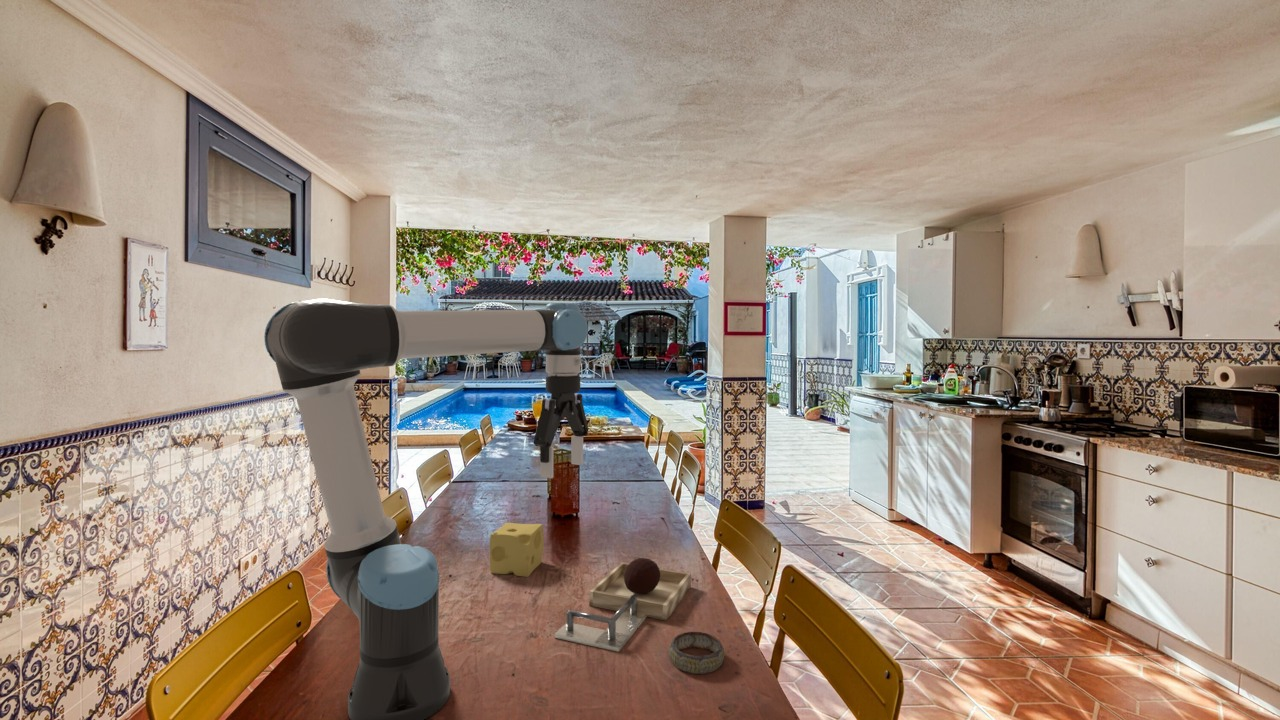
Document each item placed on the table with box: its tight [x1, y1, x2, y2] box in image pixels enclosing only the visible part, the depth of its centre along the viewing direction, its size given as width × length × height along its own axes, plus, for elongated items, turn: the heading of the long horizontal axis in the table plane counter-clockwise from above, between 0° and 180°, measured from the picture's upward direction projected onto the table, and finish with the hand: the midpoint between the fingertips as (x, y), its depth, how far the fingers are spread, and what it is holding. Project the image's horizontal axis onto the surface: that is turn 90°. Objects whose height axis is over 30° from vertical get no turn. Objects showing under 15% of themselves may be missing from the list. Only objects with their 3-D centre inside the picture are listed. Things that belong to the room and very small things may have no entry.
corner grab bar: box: [554, 595, 648, 653], centre depth 120 cm, size 16×14×5 cm
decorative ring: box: [668, 631, 726, 675], centre depth 107 cm, size 10×3×10 cm
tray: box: [588, 561, 692, 621], centre depth 133 cm, size 18×18×3 cm
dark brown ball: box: [624, 557, 660, 594], centre depth 133 cm, size 8×9×8 cm
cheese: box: [489, 522, 545, 578], centre depth 149 cm, size 10×11×10 cm
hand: (562, 470), depth 130 cm, fingers open, 13 cm apart
